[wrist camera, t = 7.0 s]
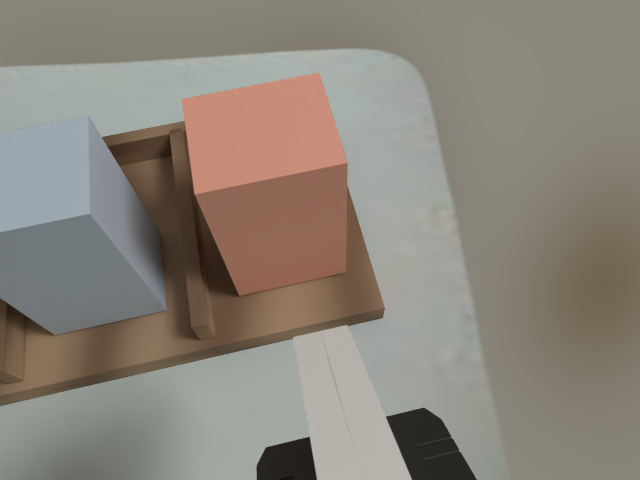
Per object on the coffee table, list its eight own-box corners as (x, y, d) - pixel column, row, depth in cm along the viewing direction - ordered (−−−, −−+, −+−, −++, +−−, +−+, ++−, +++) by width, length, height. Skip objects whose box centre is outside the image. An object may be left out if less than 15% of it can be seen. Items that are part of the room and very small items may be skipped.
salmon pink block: (239, 296, 29) (194, 194, 20) (226, 219, 31) (181, 99, 23) (345, 272, 30) (347, 162, 21) (325, 198, 32) (319, 72, 23)
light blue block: (54, 335, 28) (-75, 247, 20) (56, 254, 31) (-58, 143, 22) (166, 310, 29) (90, 213, 20) (159, 232, 31) (88, 115, 22)
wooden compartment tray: (-154, 441, 28) (-216, 429, 25) (-110, 218, 34) (-155, 187, 31) (382, 317, 30) (387, 293, 27) (326, 130, 37) (325, 93, 34)
